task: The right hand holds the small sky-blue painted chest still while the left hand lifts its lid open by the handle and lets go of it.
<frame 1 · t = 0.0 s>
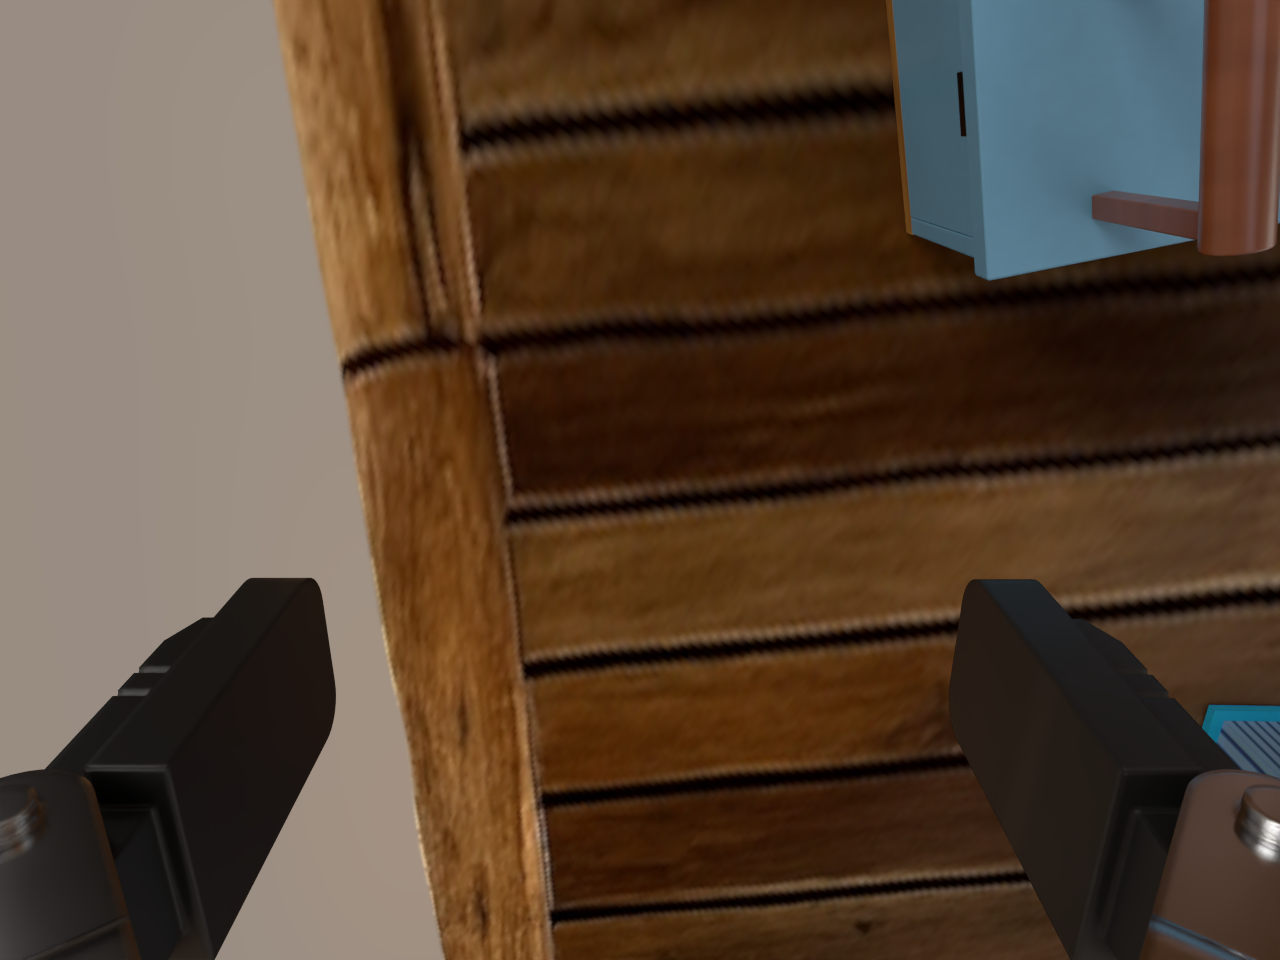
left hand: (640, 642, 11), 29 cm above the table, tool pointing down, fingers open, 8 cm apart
chest: (1100, 65, 35), on the table
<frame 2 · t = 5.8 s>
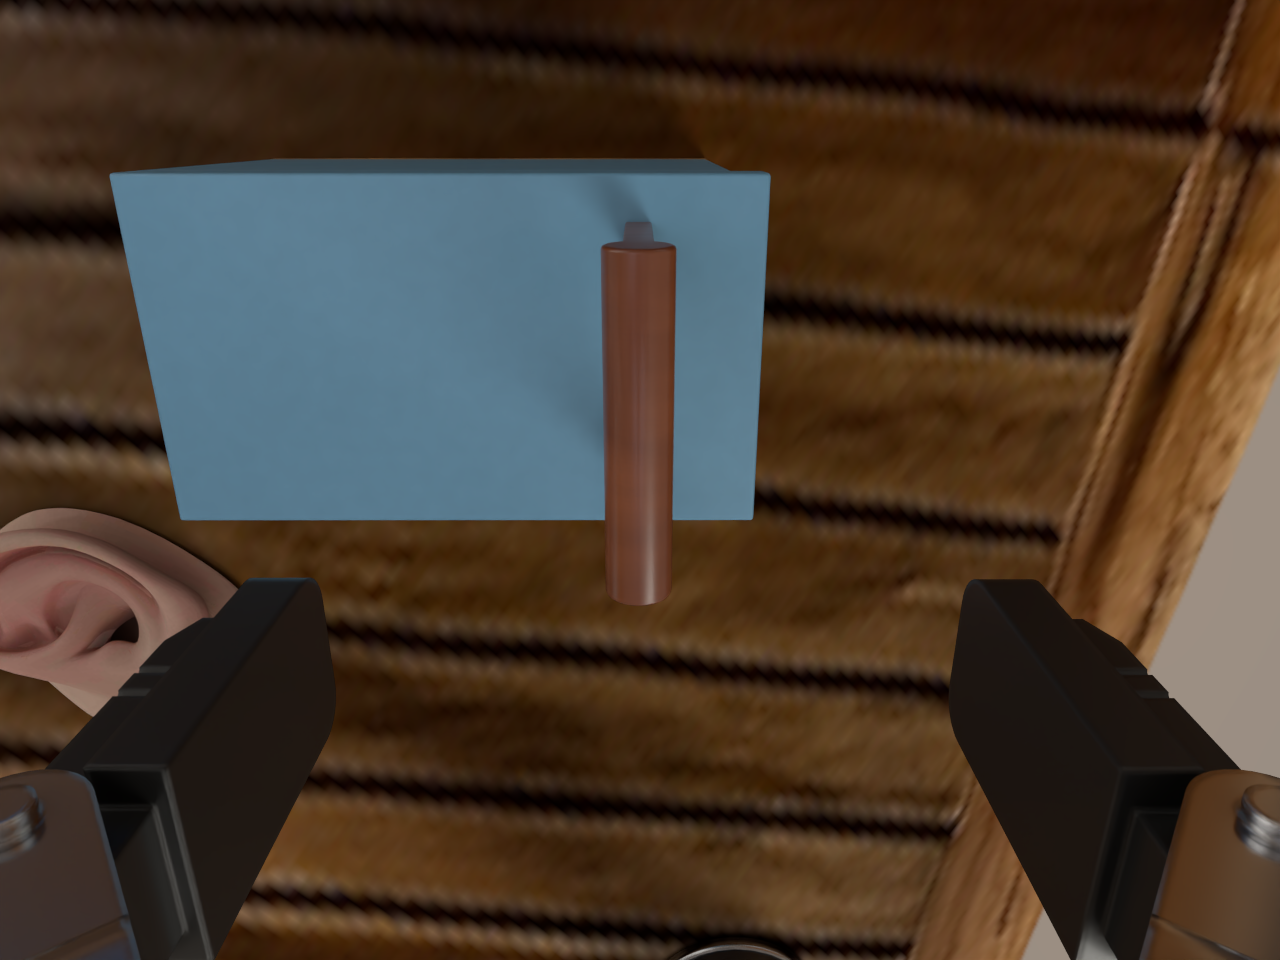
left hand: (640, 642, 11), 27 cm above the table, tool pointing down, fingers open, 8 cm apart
chest: (500, 288, 36), on the table
anatomical model: (132, 622, 41), on the table
lid: (431, 388, 22), point 15 cm above the table, hinge at 0.0°
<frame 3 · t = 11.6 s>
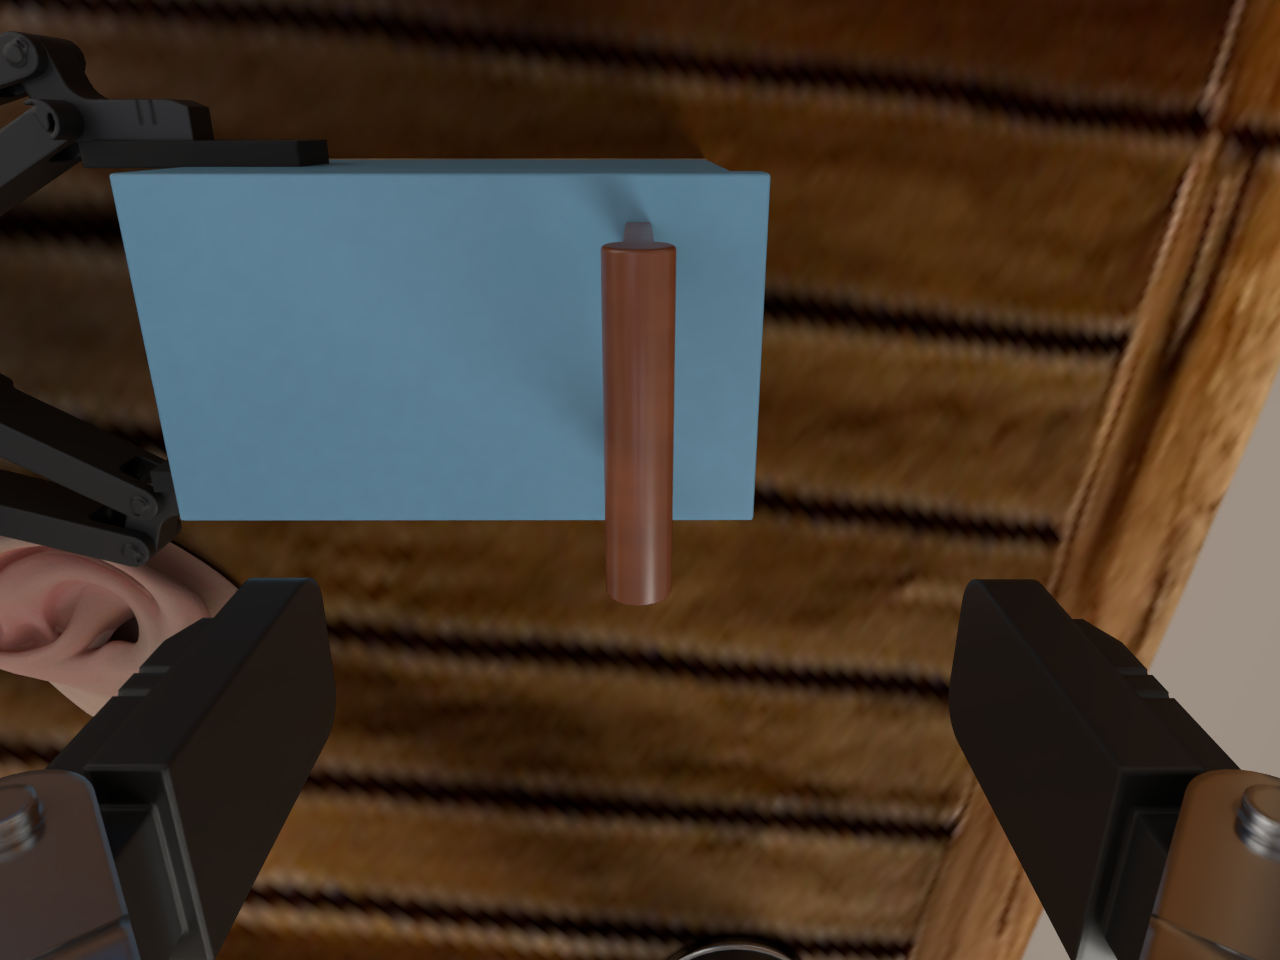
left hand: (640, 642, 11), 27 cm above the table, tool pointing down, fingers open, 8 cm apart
chest: (500, 288, 36), on the table, touching right hand
anatomical model: (132, 622, 41), on the table
lid: (431, 388, 22), point 15 cm above the table, hinge at 0.0°
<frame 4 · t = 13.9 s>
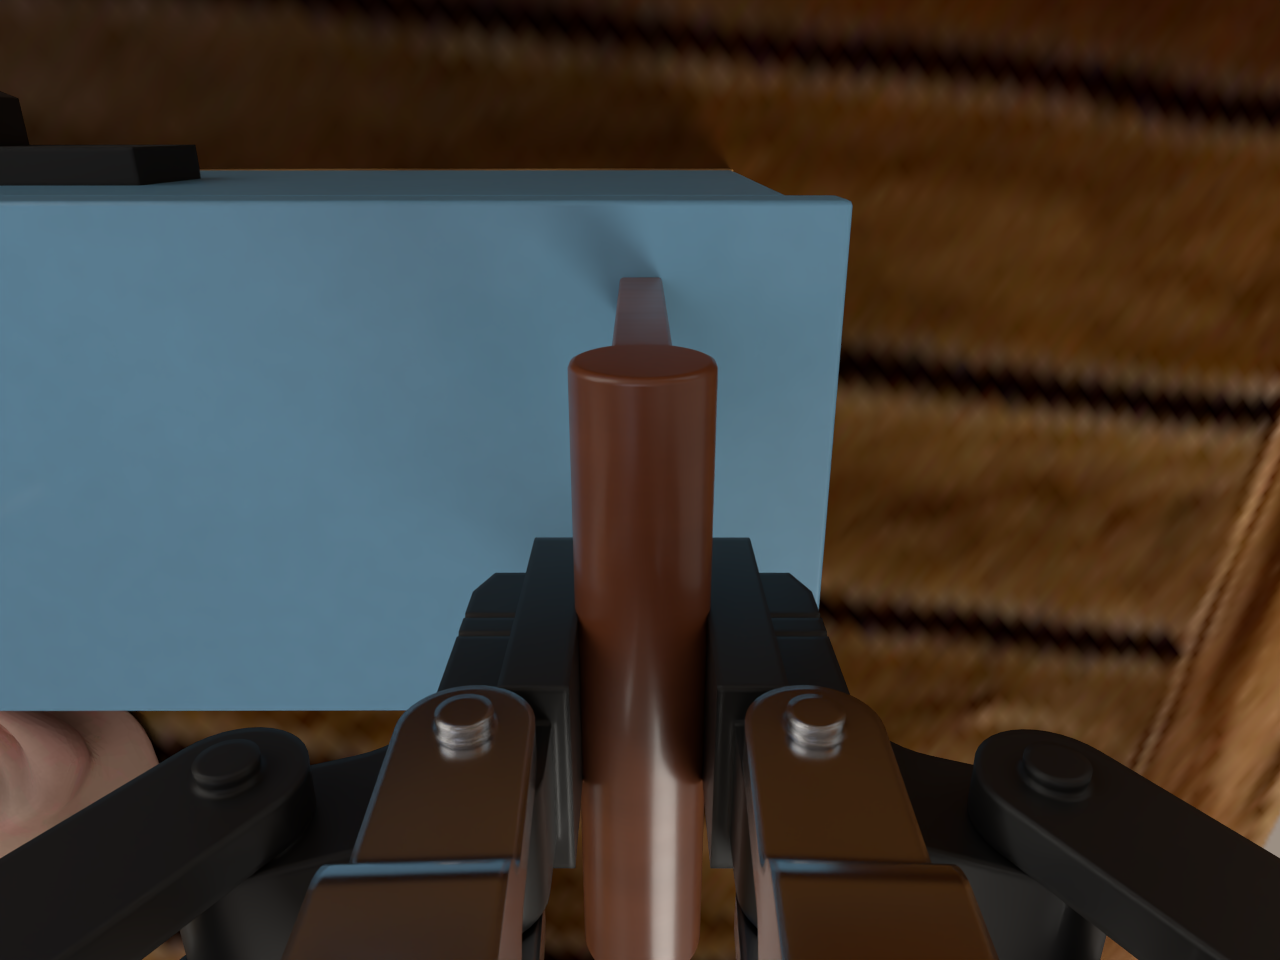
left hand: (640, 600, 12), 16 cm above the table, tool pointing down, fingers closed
chest: (457, 339, 27), on the table, touching right hand
anatomical model: (1, 753, 33), on the table
lid: (299, 557, 13), point 15 cm above the table, hinge at -0.1°, touching left hand
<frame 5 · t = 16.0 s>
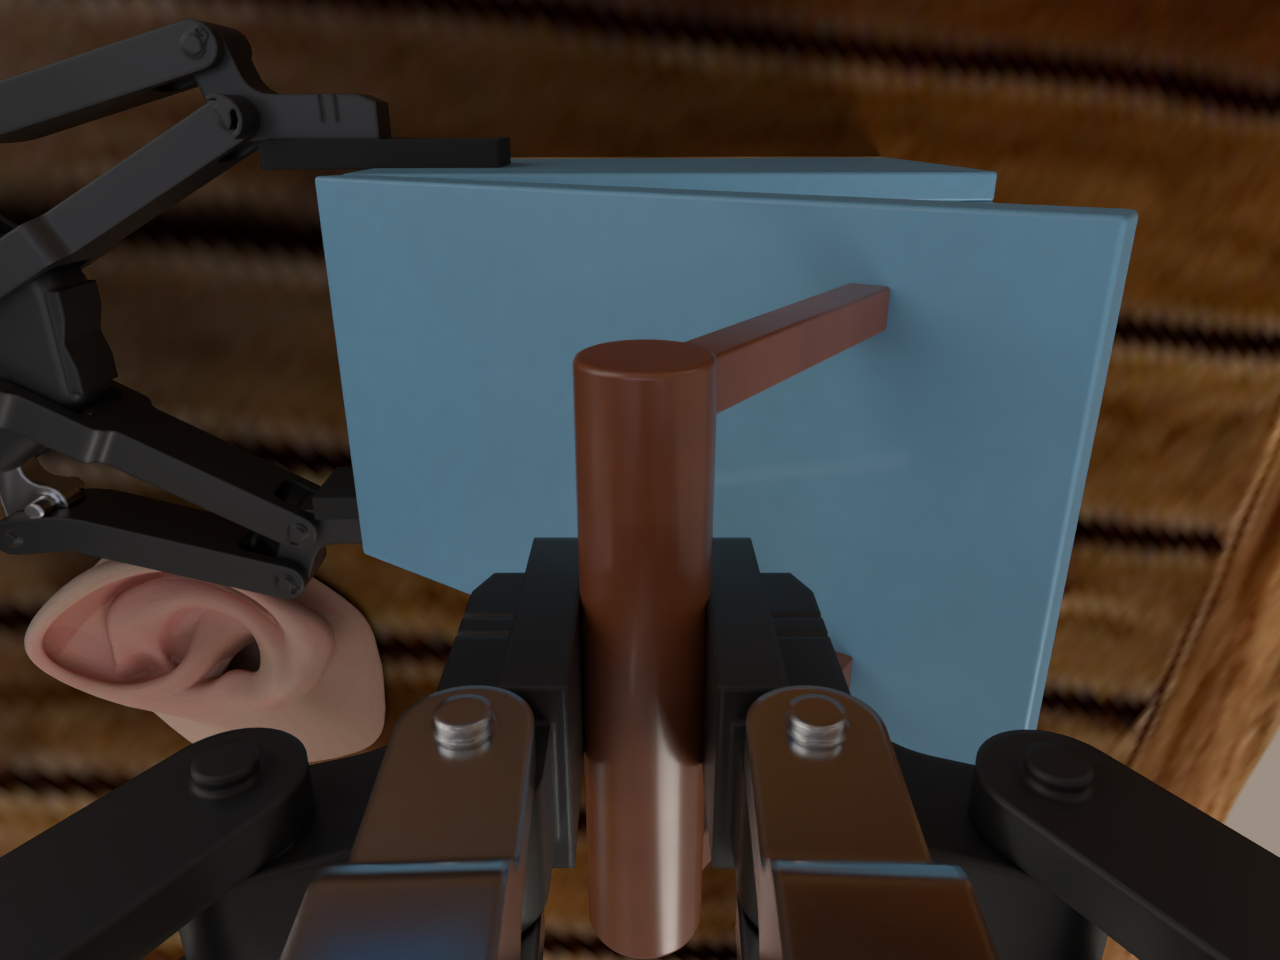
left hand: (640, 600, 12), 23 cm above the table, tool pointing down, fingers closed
right hand: (515, 333, 28), fingers closed on chest, 10 cm apart
chest: (654, 295, 34), on the table, touching right hand
anatomical model: (244, 648, 39), on the table
lid: (512, 490, 16), point 19 cm above the table, hinge at 36.0°, touching left hand
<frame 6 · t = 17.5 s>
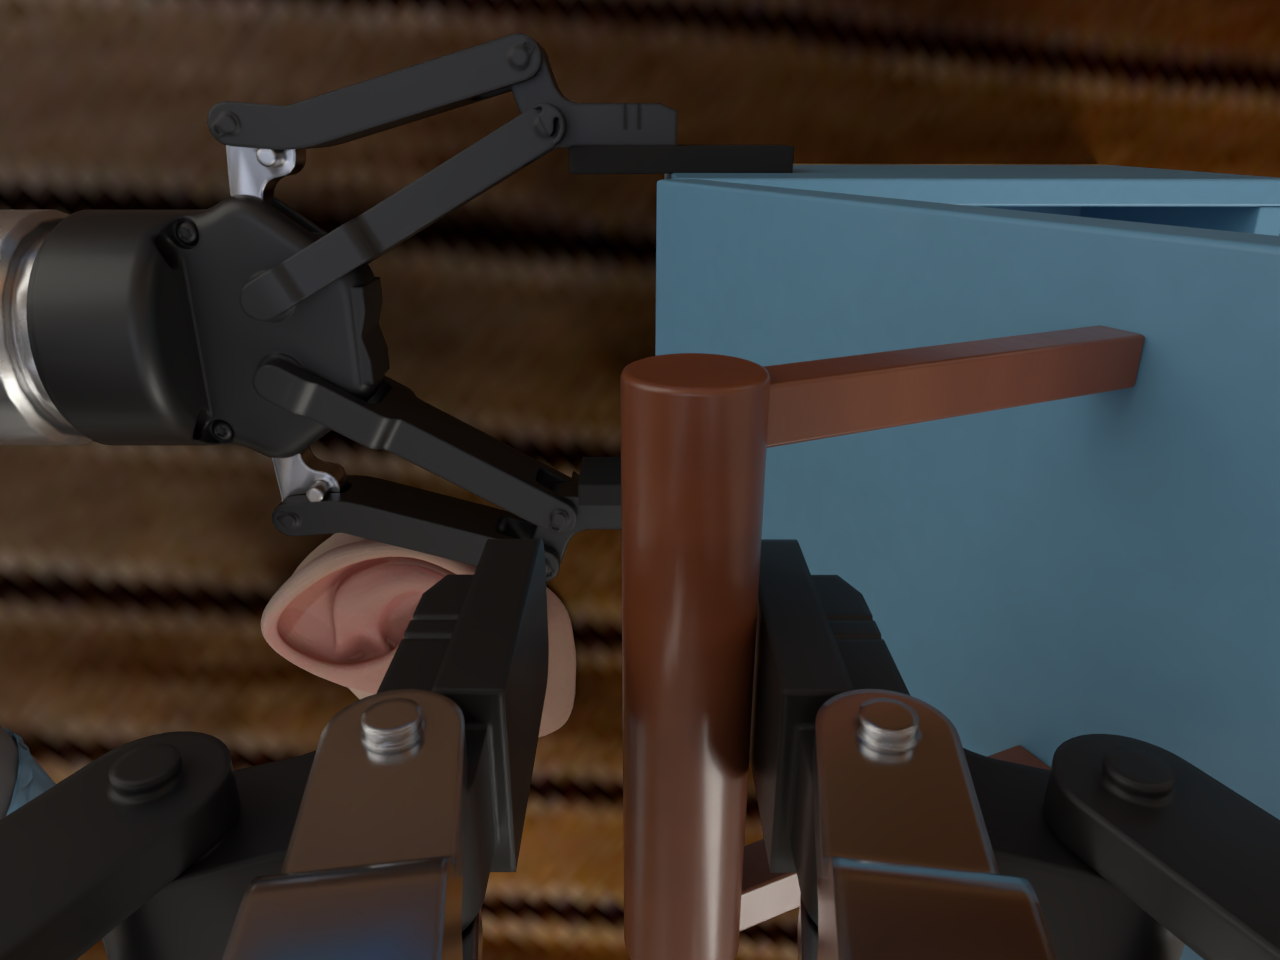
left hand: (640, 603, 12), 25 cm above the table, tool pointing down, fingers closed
right hand: (776, 330, 29), fingers closed on chest, 10 cm apart
chest: (869, 296, 35), on the table, touching right hand
anatomical model: (444, 633, 41), on the table
lid: (716, 494, 16), point 21 cm above the table, hinge at 64.8°
when the right hand's fingers open (6 cm above the table, at t = 21.5 s): chest stays where it is, on the table.
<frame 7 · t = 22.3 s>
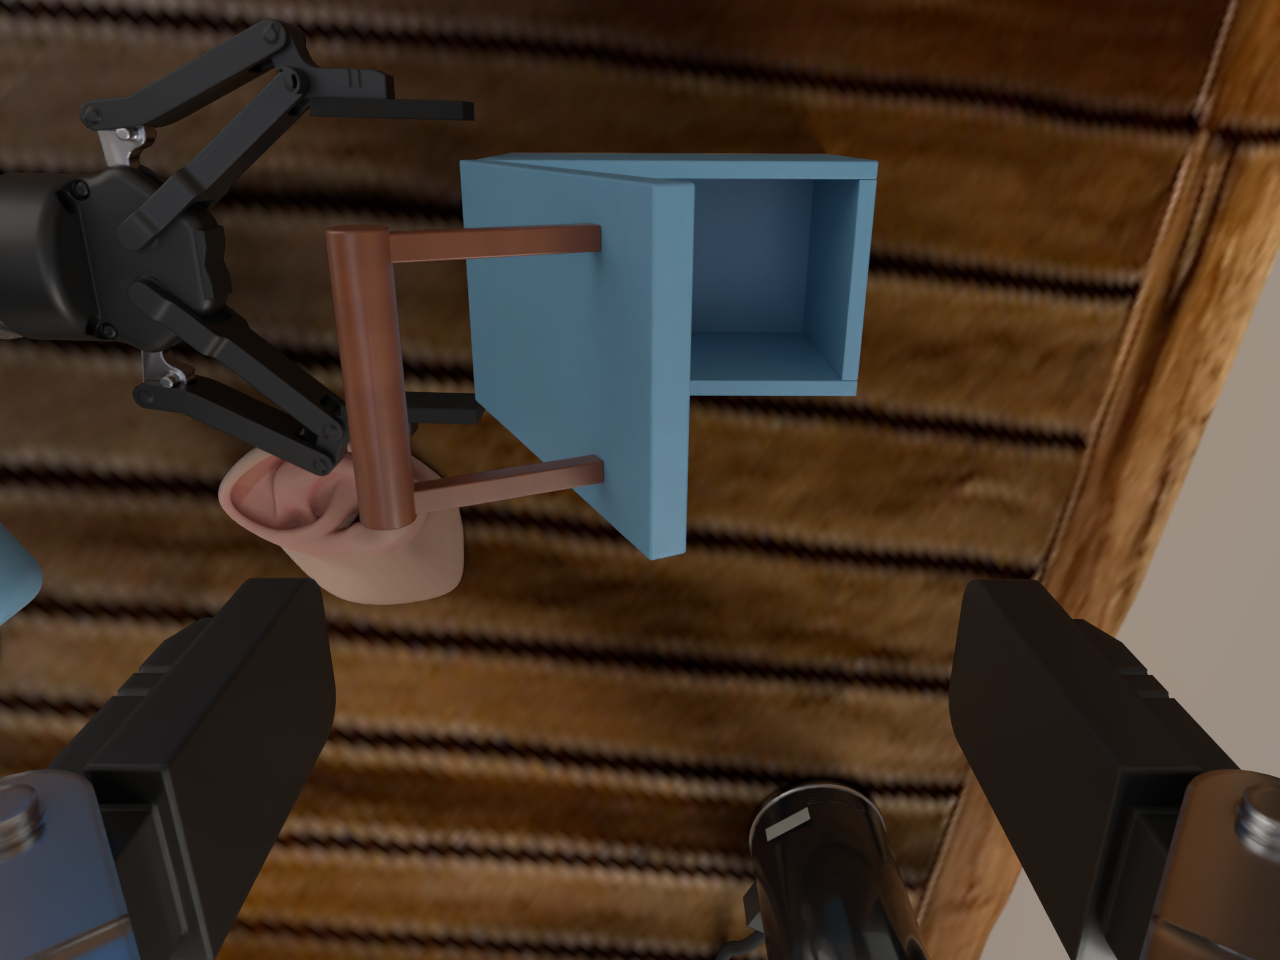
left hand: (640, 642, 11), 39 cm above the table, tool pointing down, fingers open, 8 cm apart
right hand: (476, 268, 42), fingers open, 13 cm apart
chest: (667, 250, 48), on the table
anatomical model: (362, 513, 53), on the table
lid: (450, 332, 28), point 21 cm above the table, hinge at 64.3°
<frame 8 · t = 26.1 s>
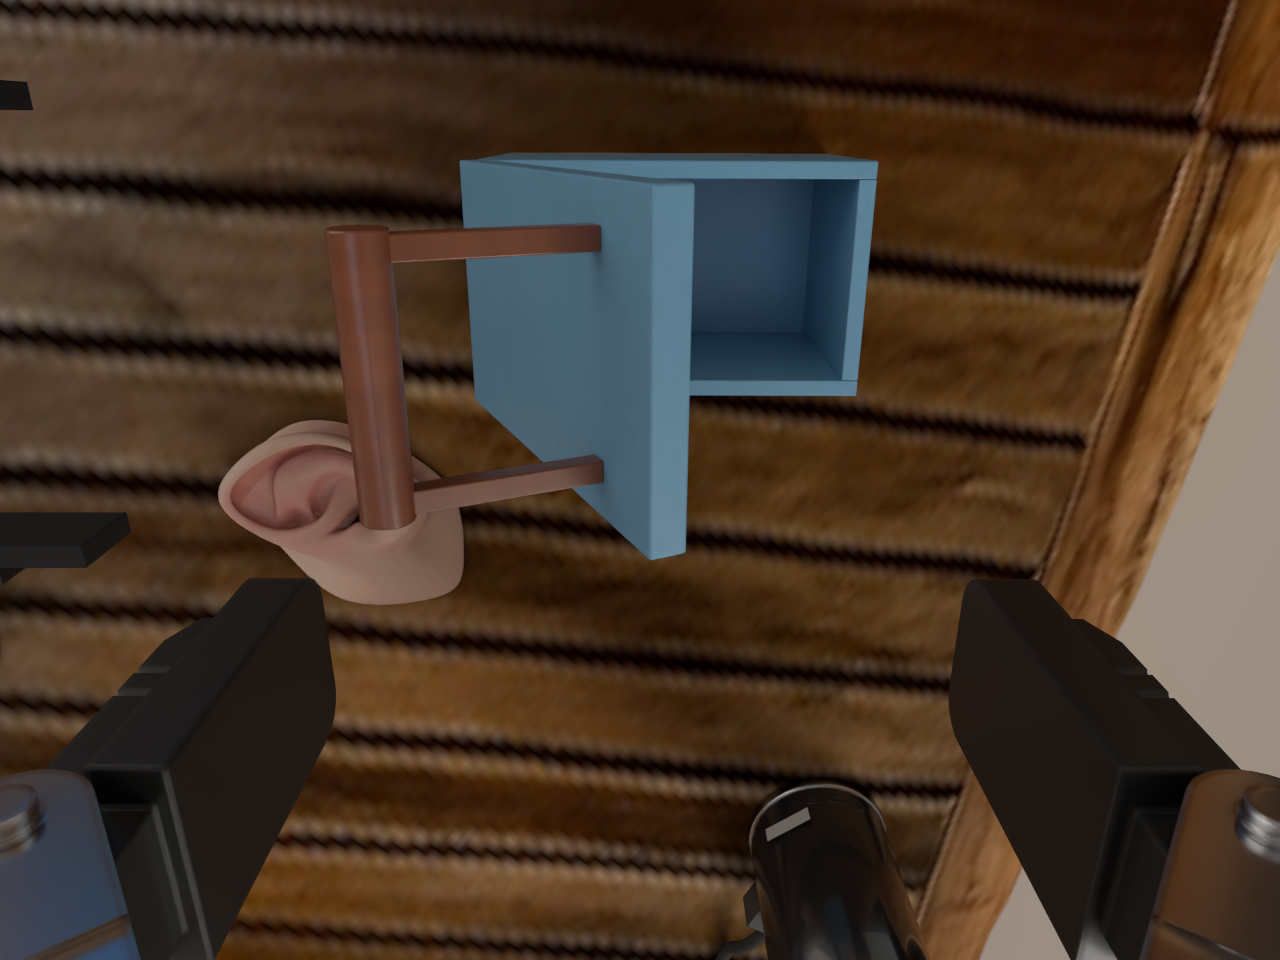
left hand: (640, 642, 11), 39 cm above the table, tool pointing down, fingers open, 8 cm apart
chest: (667, 250, 48), on the table
anatomical model: (362, 513, 53), on the table
lid: (450, 332, 28), point 21 cm above the table, hinge at 64.3°
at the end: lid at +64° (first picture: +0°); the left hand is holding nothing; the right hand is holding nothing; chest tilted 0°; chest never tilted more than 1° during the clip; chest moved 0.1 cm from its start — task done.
